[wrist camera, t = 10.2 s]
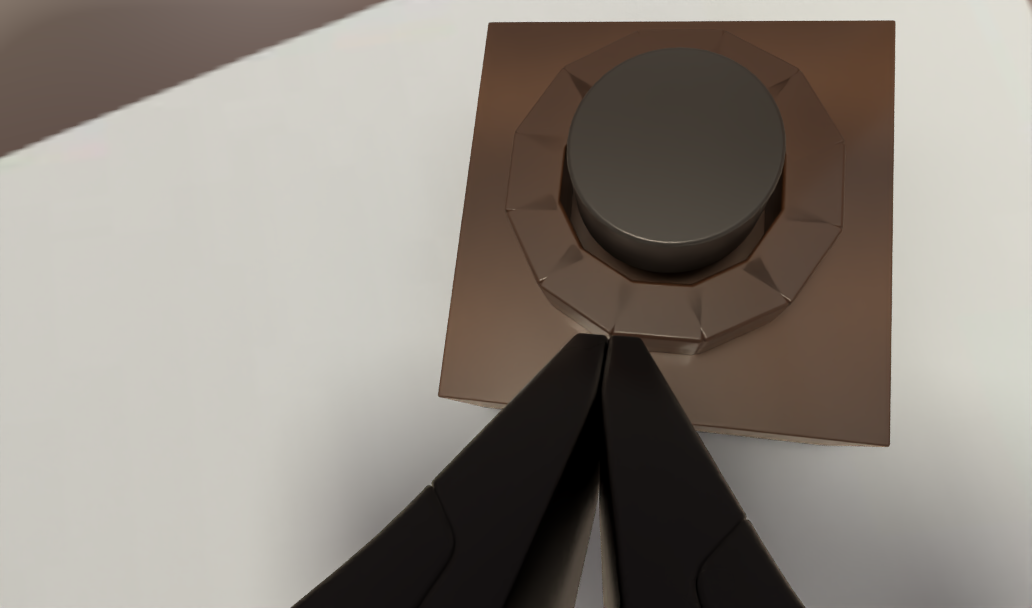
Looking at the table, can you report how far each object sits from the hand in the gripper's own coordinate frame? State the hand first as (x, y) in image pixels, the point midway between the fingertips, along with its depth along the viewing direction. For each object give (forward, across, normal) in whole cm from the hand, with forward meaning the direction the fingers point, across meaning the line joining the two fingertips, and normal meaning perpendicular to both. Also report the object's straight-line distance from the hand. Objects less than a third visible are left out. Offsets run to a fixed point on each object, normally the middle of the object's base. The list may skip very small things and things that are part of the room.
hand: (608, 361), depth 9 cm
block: (+11, -1, +5) cm, 12 cm away
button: (+7, -1, 0) cm, 7 cm away
